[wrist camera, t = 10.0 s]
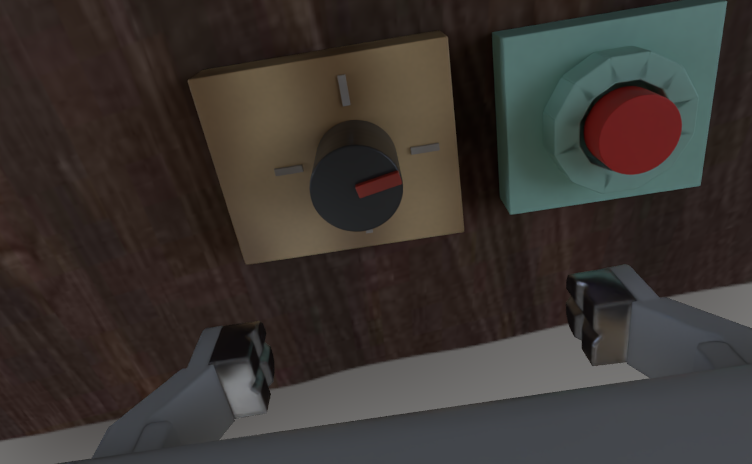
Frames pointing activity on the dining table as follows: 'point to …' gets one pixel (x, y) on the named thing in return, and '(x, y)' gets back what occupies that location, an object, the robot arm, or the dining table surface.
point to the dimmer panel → (309, 124)
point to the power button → (632, 129)
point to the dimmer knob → (356, 176)
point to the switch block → (590, 83)
